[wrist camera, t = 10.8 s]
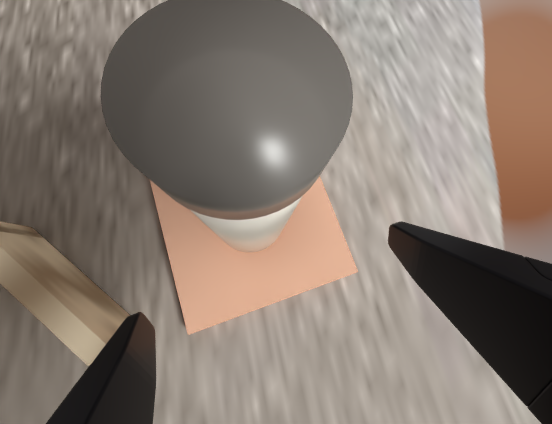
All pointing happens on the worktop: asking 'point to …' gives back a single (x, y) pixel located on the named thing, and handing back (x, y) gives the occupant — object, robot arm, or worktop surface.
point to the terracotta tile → (251, 260)
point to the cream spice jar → (229, 109)
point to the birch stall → (57, 292)
